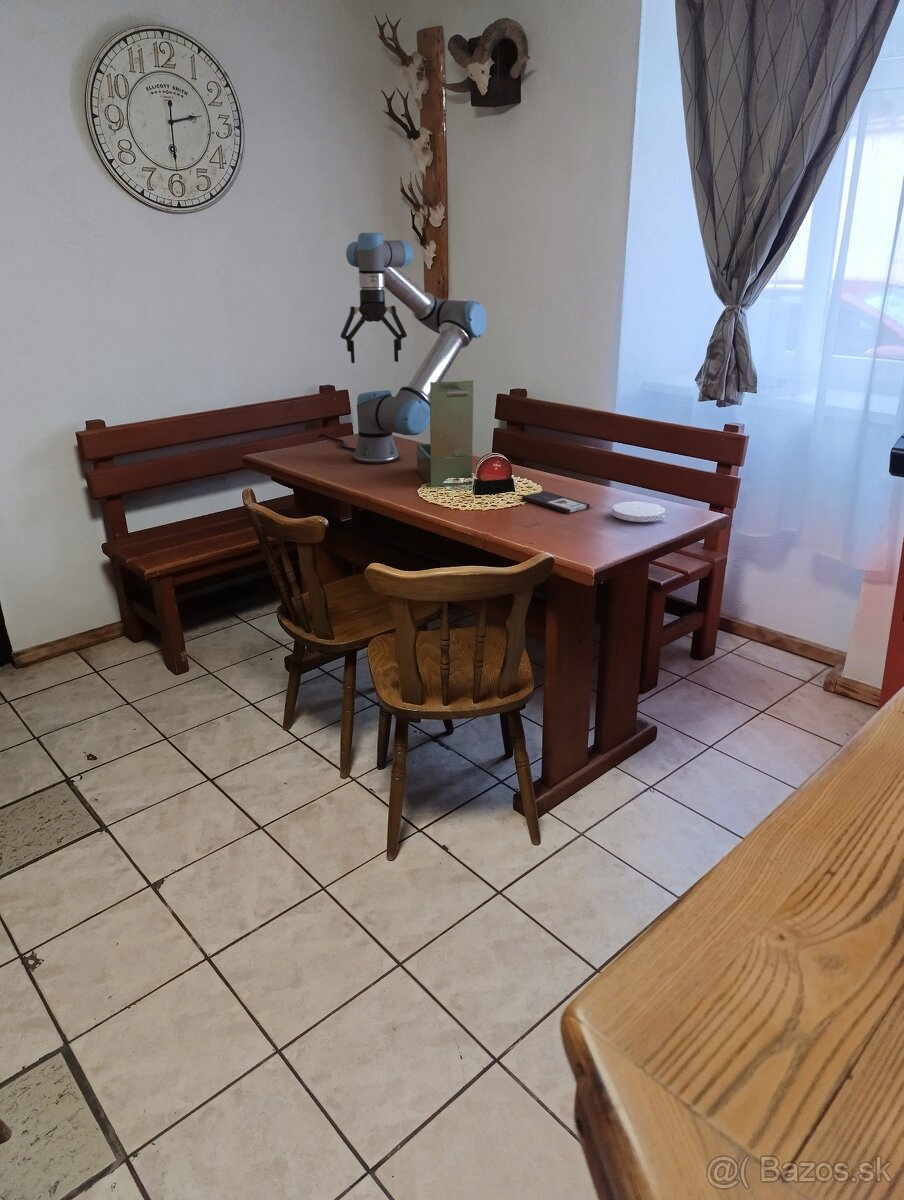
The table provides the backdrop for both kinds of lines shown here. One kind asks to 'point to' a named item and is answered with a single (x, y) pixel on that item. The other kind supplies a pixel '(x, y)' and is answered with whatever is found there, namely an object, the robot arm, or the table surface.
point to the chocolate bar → (555, 502)
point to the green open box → (442, 467)
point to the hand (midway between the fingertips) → (374, 362)
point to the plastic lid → (638, 511)
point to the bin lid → (451, 418)
